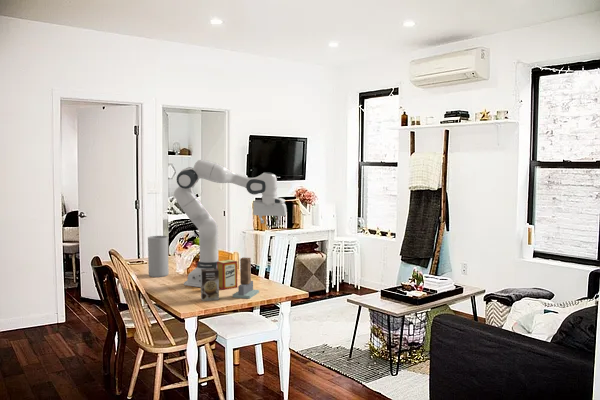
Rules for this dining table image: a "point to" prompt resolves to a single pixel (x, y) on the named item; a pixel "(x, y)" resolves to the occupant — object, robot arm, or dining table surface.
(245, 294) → the rail
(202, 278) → the coffee box
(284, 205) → the robot arm
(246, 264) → the oak post
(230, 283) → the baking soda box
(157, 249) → the cylinder vase
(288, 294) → the dining table surface
